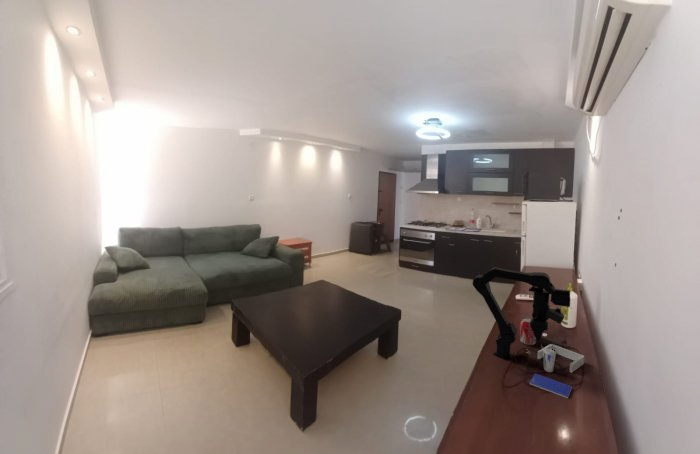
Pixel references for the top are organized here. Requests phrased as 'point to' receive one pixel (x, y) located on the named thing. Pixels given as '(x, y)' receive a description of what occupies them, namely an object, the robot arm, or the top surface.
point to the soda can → (527, 332)
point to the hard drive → (551, 385)
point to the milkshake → (549, 359)
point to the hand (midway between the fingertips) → (538, 336)
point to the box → (566, 353)
